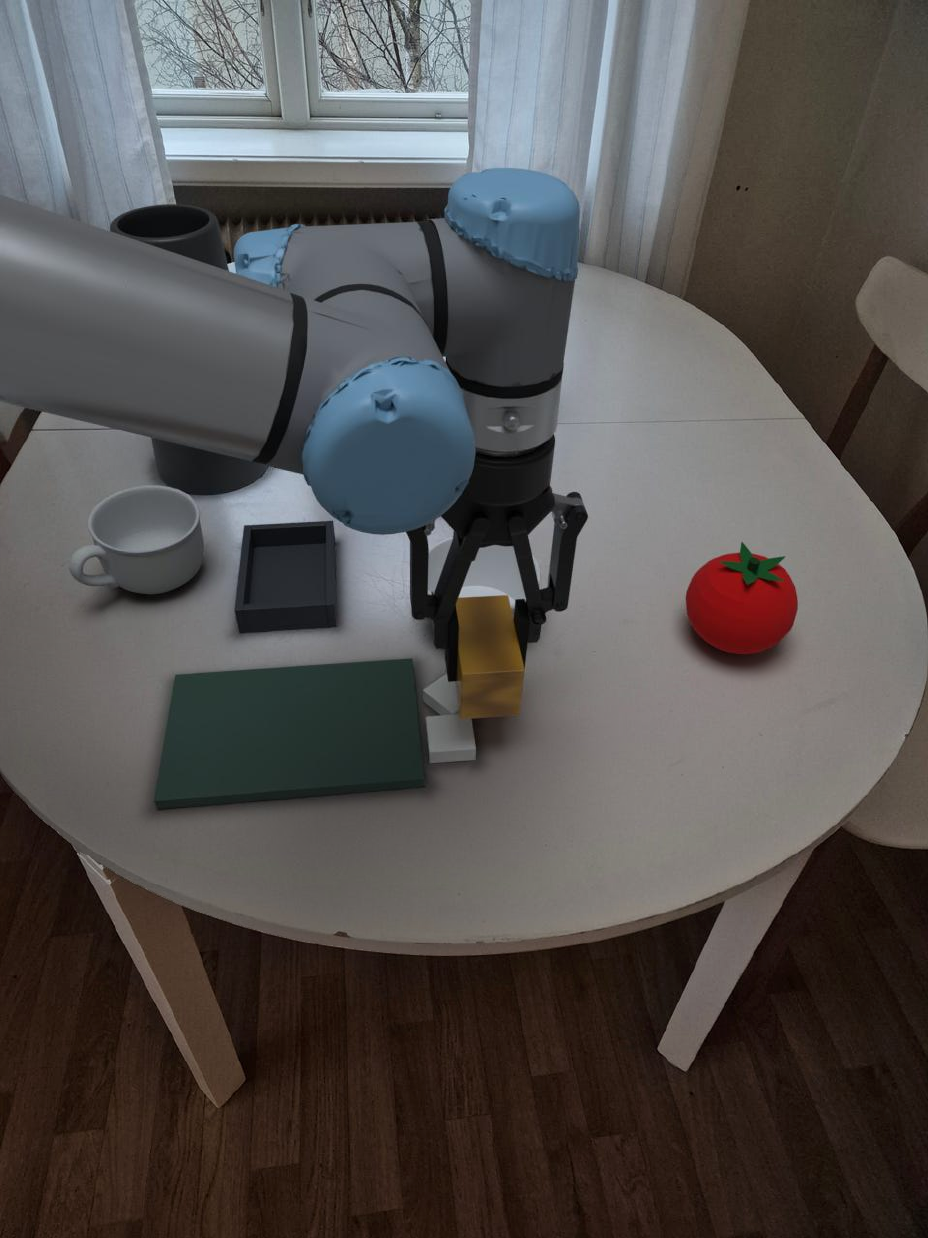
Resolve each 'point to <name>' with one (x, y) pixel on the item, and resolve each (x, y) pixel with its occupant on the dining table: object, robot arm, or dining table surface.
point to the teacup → (143, 540)
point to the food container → (483, 572)
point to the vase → (202, 241)
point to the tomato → (742, 602)
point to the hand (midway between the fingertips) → (483, 667)
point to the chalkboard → (290, 733)
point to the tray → (287, 577)
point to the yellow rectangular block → (488, 659)
